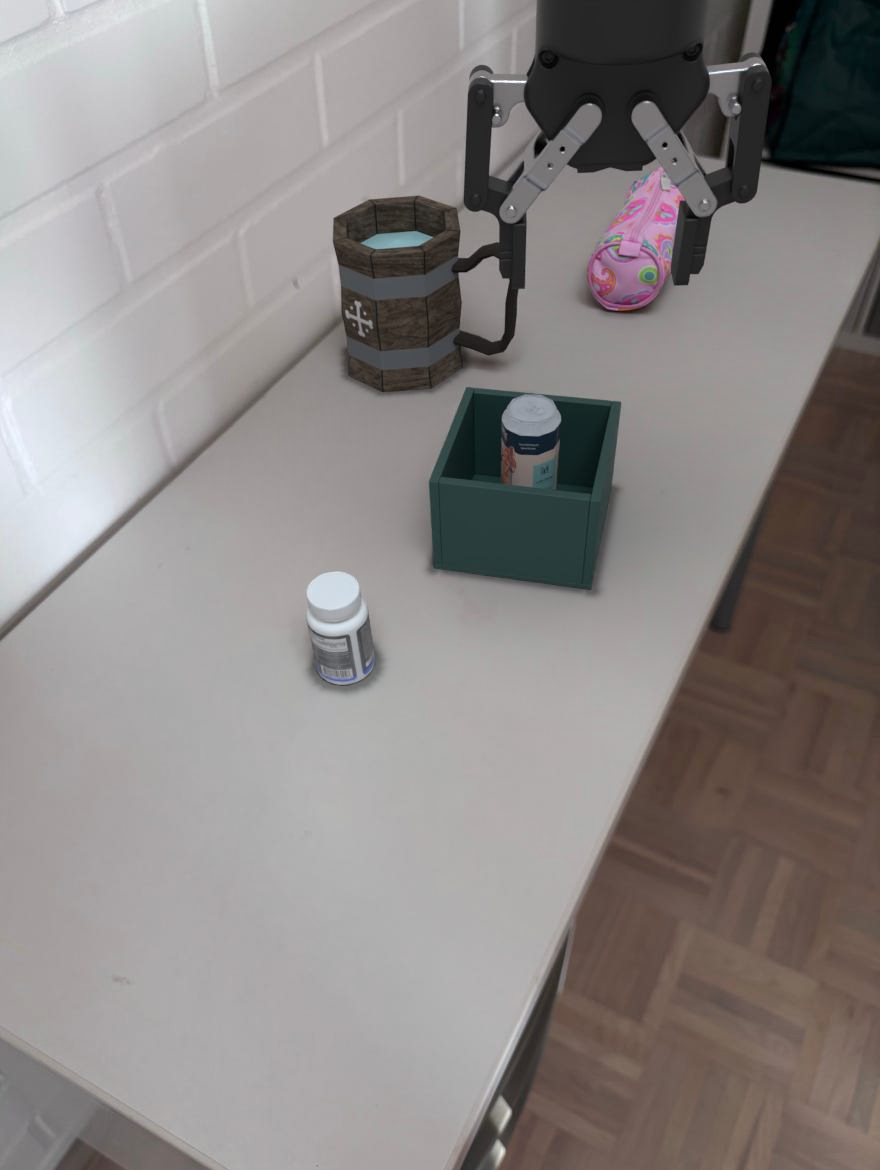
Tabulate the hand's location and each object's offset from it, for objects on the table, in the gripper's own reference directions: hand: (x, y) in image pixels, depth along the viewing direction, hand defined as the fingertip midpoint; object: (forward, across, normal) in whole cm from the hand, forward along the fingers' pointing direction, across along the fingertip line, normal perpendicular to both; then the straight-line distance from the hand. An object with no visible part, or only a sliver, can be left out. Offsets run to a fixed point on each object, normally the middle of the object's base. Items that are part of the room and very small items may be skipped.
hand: (598, 280), depth 53 cm
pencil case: (+32, +11, +63) cm, 72 cm away
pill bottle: (+32, -17, 0) cm, 37 cm away
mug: (+32, -13, +44) cm, 56 cm away
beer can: (+32, -3, +17) cm, 36 cm away
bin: (+32, -3, +17) cm, 36 cm away
